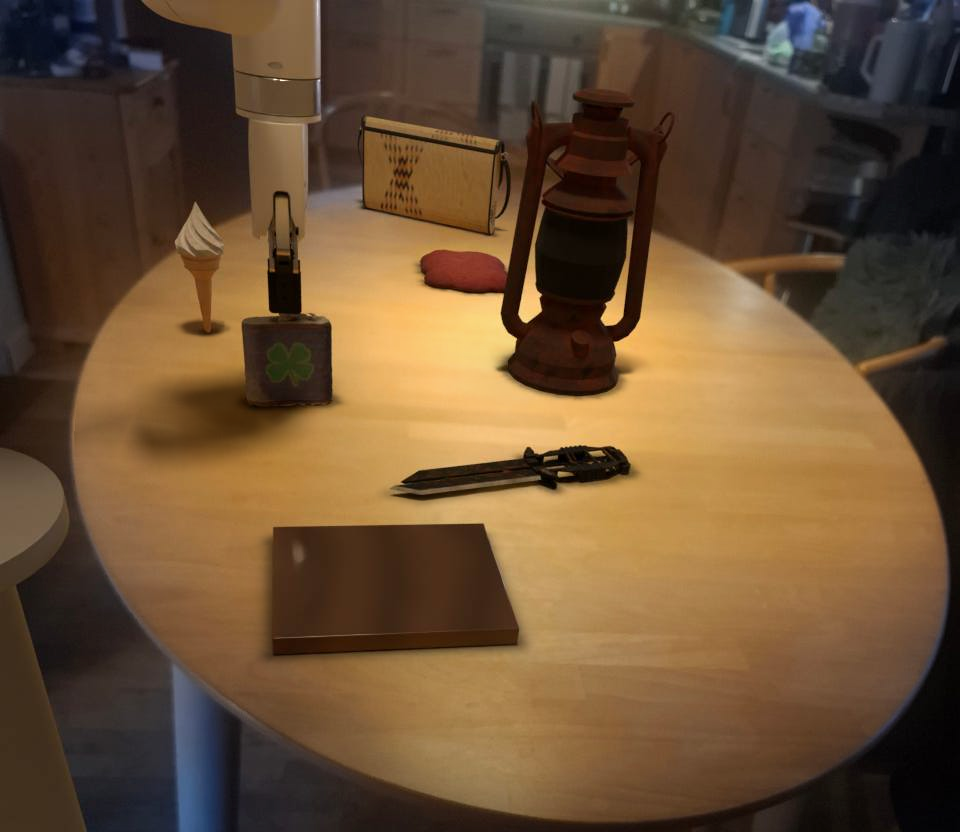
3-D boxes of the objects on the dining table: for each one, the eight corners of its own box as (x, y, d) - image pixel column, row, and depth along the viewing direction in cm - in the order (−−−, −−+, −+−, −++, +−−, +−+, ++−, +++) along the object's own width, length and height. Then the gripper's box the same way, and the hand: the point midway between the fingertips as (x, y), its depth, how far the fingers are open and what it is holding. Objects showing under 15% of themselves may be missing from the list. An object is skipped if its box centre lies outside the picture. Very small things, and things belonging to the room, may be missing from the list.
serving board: (273, 654, 64) (272, 638, 63) (273, 541, 75) (272, 526, 74) (517, 644, 67) (519, 628, 66) (482, 537, 79) (483, 523, 78)
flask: (247, 407, 95) (240, 306, 88) (245, 396, 97) (238, 296, 90) (334, 405, 97) (333, 306, 91) (330, 394, 99) (329, 296, 93)
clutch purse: (512, 230, 162) (521, 137, 152) (497, 238, 156) (506, 143, 147) (369, 200, 170) (370, 110, 160) (350, 207, 164) (350, 114, 155)
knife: (394, 503, 82) (394, 489, 81) (378, 469, 87) (378, 456, 86) (638, 482, 89) (641, 470, 89) (611, 452, 94) (614, 440, 93)
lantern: (505, 394, 103) (539, 96, 85) (484, 350, 114) (510, 76, 95) (646, 396, 107) (708, 109, 88) (612, 352, 117) (661, 88, 99)
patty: (519, 295, 133) (520, 281, 131) (427, 291, 130) (427, 277, 129) (499, 260, 146) (501, 247, 145) (415, 256, 144) (416, 243, 142)
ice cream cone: (176, 328, 110) (160, 197, 101) (217, 321, 114) (205, 193, 104) (199, 343, 107) (184, 209, 98) (240, 335, 111) (230, 204, 101)
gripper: (238, 81, 85) (249, 279, 96) (231, 108, 72) (245, 333, 84) (317, 88, 86) (319, 283, 98) (324, 116, 74) (326, 336, 85)
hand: (285, 304), depth 90 cm, fingers open, 3 cm apart
